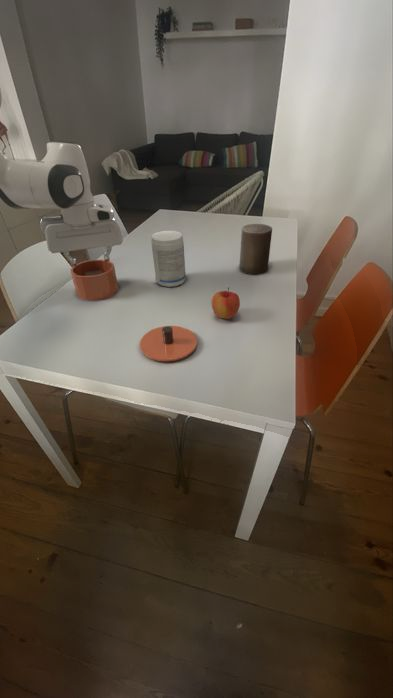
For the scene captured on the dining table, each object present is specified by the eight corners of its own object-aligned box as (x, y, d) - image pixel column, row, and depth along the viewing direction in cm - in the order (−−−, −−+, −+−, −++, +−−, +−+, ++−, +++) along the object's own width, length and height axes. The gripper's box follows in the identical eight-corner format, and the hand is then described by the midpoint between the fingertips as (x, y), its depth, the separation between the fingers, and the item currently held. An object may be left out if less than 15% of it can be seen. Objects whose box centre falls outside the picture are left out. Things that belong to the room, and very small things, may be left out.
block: (89, 294, 95) (85, 278, 92) (88, 287, 99) (84, 272, 96) (106, 291, 97) (103, 276, 94) (104, 284, 100) (101, 269, 97)
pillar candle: (271, 273, 105) (277, 227, 96) (243, 276, 104) (246, 229, 95) (262, 262, 113) (267, 218, 104) (235, 264, 112) (238, 220, 103)
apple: (207, 320, 84) (207, 293, 79) (217, 307, 89) (217, 281, 84) (233, 326, 81) (235, 299, 76) (242, 312, 86) (244, 286, 81)
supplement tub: (191, 281, 102) (190, 235, 93) (169, 291, 97) (165, 243, 88) (172, 272, 108) (169, 228, 99) (149, 281, 103) (144, 235, 94)
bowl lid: (146, 369, 69) (144, 352, 66) (135, 335, 79) (133, 319, 76) (204, 355, 72) (204, 339, 69) (187, 325, 82) (186, 309, 79)
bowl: (77, 303, 92) (71, 279, 87) (76, 285, 101) (70, 263, 97) (120, 296, 95) (116, 272, 90) (115, 279, 104) (111, 257, 100)
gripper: (36, 220, 79) (53, 272, 88) (119, 212, 84) (126, 261, 93) (38, 214, 84) (53, 264, 92) (115, 206, 89) (123, 254, 97)
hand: (90, 262), depth 93 cm, fingers open, 8 cm apart
